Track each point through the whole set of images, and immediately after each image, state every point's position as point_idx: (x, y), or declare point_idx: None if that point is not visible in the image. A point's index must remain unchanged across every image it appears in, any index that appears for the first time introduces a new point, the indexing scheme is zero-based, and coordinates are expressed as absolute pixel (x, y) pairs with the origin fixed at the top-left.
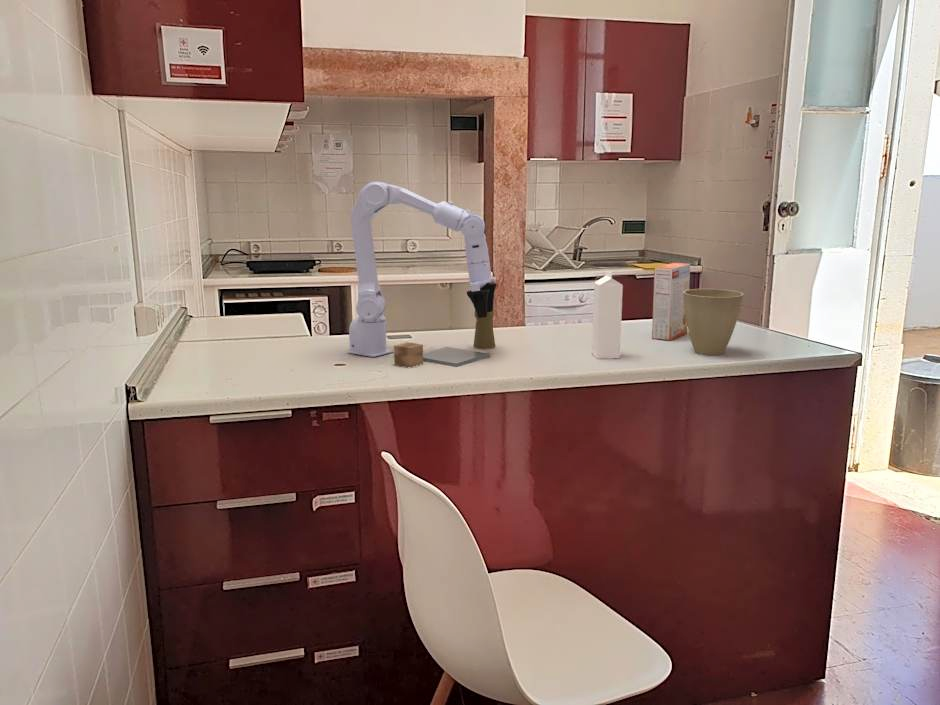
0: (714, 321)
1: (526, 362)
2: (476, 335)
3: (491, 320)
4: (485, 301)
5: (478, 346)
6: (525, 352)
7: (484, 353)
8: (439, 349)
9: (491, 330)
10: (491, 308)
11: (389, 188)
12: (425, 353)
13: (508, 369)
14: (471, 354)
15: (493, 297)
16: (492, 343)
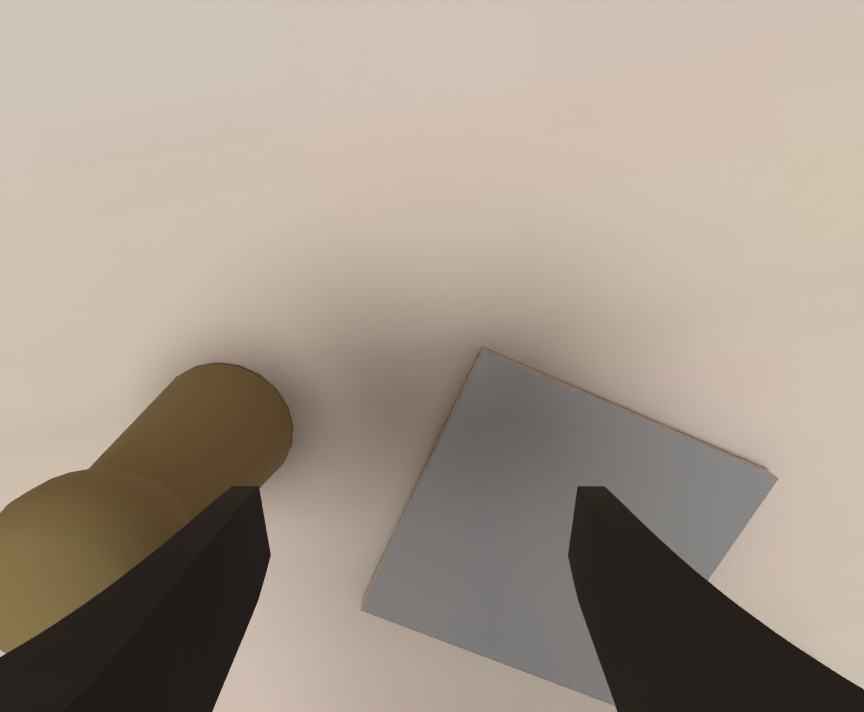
0: None
1: (609, 76)
2: None
3: (127, 463)
4: (779, 642)
5: (283, 454)
6: (306, 137)
7: (492, 380)
8: (438, 628)
9: (193, 423)
10: (243, 515)
11: None
12: (551, 668)
13: (820, 163)
14: (533, 447)
15: (111, 601)
16: (237, 382)
